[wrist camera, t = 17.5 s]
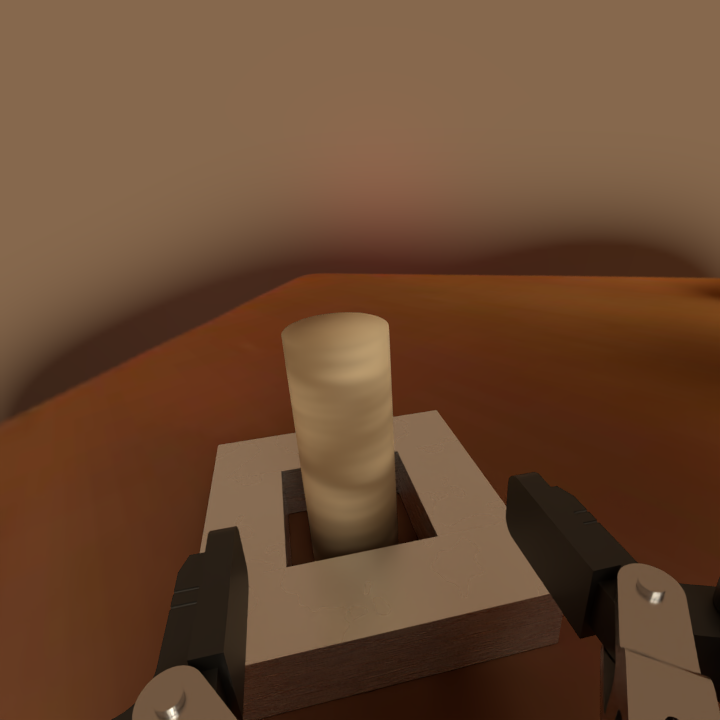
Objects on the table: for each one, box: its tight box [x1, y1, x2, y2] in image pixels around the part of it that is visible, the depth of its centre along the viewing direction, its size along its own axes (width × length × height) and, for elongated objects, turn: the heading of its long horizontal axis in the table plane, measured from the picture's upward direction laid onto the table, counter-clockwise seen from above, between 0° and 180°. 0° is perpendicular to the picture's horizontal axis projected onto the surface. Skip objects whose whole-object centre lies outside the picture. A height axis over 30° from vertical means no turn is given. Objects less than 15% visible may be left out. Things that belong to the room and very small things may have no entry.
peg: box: [281, 312, 398, 561], centre depth 21 cm, size 4×4×12 cm
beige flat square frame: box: [200, 410, 563, 720], centre depth 23 cm, size 14×14×3 cm
